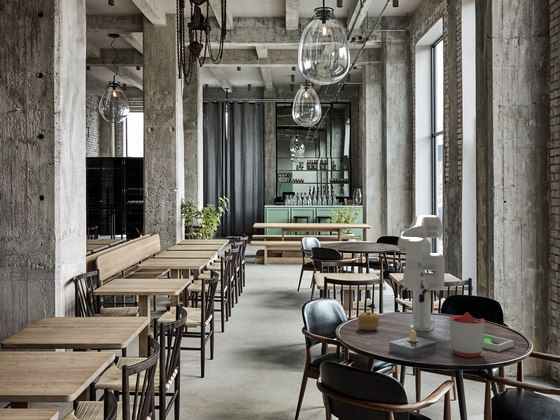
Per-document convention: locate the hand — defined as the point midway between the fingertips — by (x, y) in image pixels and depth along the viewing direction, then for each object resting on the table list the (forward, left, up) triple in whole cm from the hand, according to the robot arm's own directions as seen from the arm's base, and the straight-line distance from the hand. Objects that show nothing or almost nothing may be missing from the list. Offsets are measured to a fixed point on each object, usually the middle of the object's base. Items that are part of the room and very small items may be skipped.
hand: (413, 300), depth 265 cm
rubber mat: (-16, -12, -24) cm, 32 cm away
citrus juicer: (-16, +20, -25) cm, 35 cm away
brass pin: (+1, +1, -24) cm, 24 cm away
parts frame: (-38, +17, -24) cm, 48 cm away
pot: (-13, -40, -25) cm, 49 cm away
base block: (+1, +1, -24) cm, 24 cm away
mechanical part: (-39, +15, -25) cm, 48 cm away
